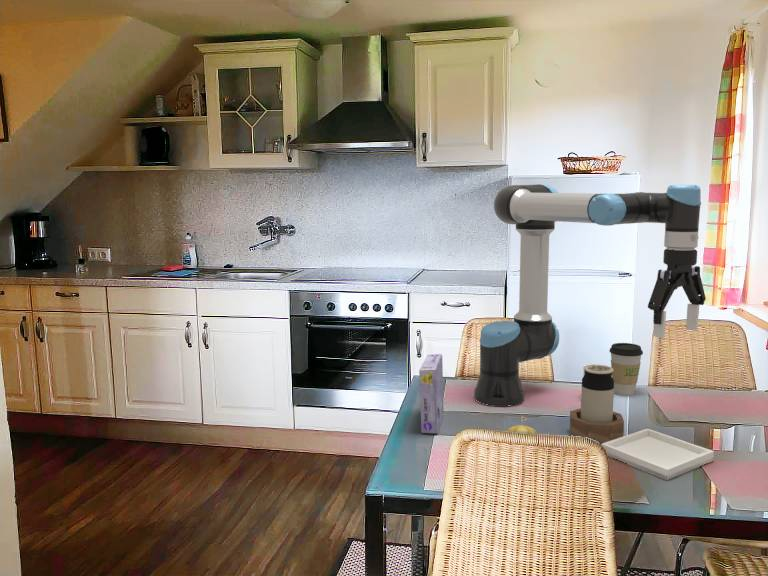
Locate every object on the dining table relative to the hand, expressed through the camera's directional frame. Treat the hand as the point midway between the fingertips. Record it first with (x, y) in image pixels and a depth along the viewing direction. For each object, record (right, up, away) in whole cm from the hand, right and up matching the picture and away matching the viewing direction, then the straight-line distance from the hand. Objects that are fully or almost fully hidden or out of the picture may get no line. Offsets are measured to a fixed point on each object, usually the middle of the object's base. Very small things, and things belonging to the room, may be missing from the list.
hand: (675, 333), depth 167 cm
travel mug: (-17, -27, +9) cm, 33 cm away
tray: (-7, -29, -6) cm, 31 cm away
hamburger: (-41, -31, -11) cm, 52 cm away
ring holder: (-17, -27, +9) cm, 33 cm away
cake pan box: (-59, -26, +19) cm, 68 cm away
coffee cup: (+2, -22, +42) cm, 48 cm away
